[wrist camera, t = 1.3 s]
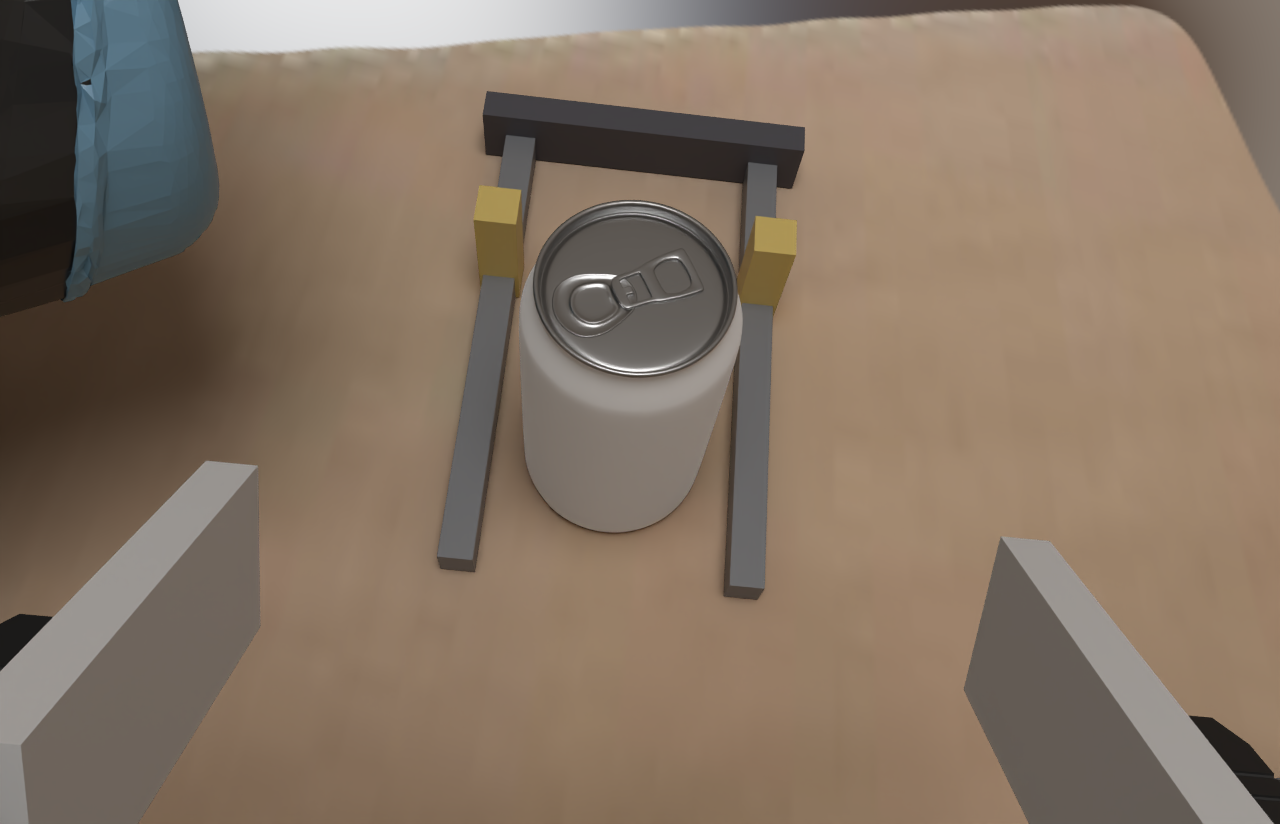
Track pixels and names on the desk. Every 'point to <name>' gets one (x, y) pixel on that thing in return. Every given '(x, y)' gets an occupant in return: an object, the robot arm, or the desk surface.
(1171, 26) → the desk surface
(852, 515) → the desk surface
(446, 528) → the u-shaped rail frame
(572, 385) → the can
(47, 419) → the desk surface
